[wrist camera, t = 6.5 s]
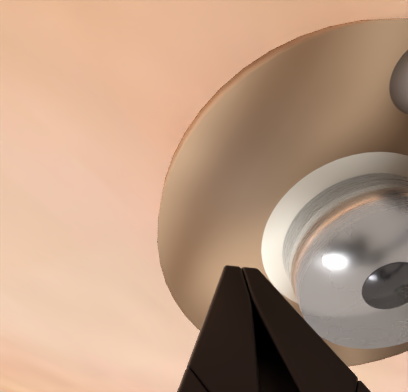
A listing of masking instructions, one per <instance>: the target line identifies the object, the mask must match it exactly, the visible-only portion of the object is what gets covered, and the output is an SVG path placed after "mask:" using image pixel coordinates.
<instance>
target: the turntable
mask: <svg viewBox="0 0 408 392" xmlns="http://www.w3.org/2000/svg"><path fill="white" fill-rule="evenodd" d="M372 173H388V174H396V175H400V176H404V177H407V178H408V19H381V20H361V21H355V22H350V23H345V24H340V25H335V26H330V27H327V28H324V29H321V30H318V31H315V32H312V33H309V34H306V35H303V36H300V37H298V38H296V39H294V40H291V41H289V42H287V43H285V44H283V45H281V46H279V47H277V48H275V49H273V50H271V51H269V52H268V53H266V54H265V55H263V56H262V57H260V58H259V59H257V60H256V61H254V62H253V63H251V64H250V65H248V66H247V67H245V68H244V69H242V70H241V71H240V72H239V73H238V74H237V75H235V76H234V77H233V78H232V79H231V80H230V81H228V82H227V83H226V84H225V85H224V86H223V87H221V88H220V89H219V90H218V92H217V93H216V94H215V95H214V96H213V97H212V98H211V99H210V100H209V101H208V103H207V104H206V105H205V106H204V107H203V108H202V109H201V110H200V112H199V113H198V115H197V116H196V118H195V119H194V121H193V122H192V123H191V125H190V126H189V128H188V129H187V131H186V132H185V134H184V136H183V138H182V140H181V142H180V144H179V146H178V147H177V149H176V151H175V153H174V155H173V158H172V161H171V164H170V167H169V169H168V172H167V175H166V178H165V183H164V188H163V193H162V199H161V204H160V211H159V217H158V240H157V243H158V251H159V258H160V264H161V268H162V271H163V275H164V278H165V281H166V284H167V286H168V288H169V290H170V292H171V294H172V296H173V298H174V300H175V302H176V303H177V305H178V306H179V307H180V309H181V310H182V312H183V313H184V315H185V316H186V317H187V318H188V319H189V320H190V321H191V322H192V323H193V324H194V325H195V326H196V328H197V329H199V330H201V327H202V325H203V322H204V319H205V317H206V314H207V311H208V309H209V306H210V303H211V301H212V298H213V295H214V293H215V290H216V287H217V284H218V282H219V279H220V276H221V274H222V271H223V268H224V266H226V265H230V266H239V267H240V268H242V267H250V268H257V269H259V270H260V271H261V273H262V274H263V275H264V276H265V277H266V278H267V279H268V280H269V281H270V282H271V283H272V285H273V286H274V287H275V288H276V289H277V290H278V291H279V292H280V293H281V294H282V296H283V297H284V298H285V299H286V300H287V301H288V302H289V303H290V304H291V305H292V306H293V308H294V309H295V310H296V311H297V312H298V313H299V314H300V315H301V316H302V317H303V314H302V312H301V310H300V307H299V305H298V302H297V299H296V297H295V294H294V292H293V289H292V287H291V284H290V282H289V279H288V276H287V274H286V271H285V269H284V265H283V259H282V249H283V243H284V239H285V235H286V233H287V230H288V228H289V226H290V224H291V223H292V221H293V219H294V218H295V216H296V215H297V214H298V212H299V211H300V210H301V209H302V208H303V207H304V206H305V205H306V204H307V203H308V202H309V201H310V200H311V199H312V198H314V197H315V196H316V195H317V194H319V193H320V192H322V191H323V190H325V189H326V188H328V187H330V186H332V185H334V184H336V183H338V182H341V181H343V180H346V179H348V178H352V177H355V176H359V175H365V174H372ZM303 318H304V317H303ZM304 320H305V319H304ZM320 337H321V336H320ZM321 338H322V337H321ZM322 339H323V340H324V341H325V343H326V344H327V345H328V346H329V347H330V348H331V349H332V350H333V351H334V352H335V353H336V355H337V356H338V357H339V358H340V359H341V360H342V361H343V362H344V363H345V364H346V365H347V367H348V366H355V365H361V364H365V363H369V362H374V361H378V360H382V359H385V358H388V357H391V356H395V355H398V354H401V353H403V352H406V351H408V342H406V343H403V344H399V345H395V346H390V347H384V348H375V349H357V348H349V347H345V346H340V345H337V344H334V343H332V342H329V341H327V340H326V339H324V338H322Z"/></svg>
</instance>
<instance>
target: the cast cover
mask: <svg viewBox="0 0 408 392" xmlns="http://www.w3.org/2000/svg"><path fill="white" fill-rule="evenodd" d="M282 259H283V265H284V269H285V271H286V274H287V276H288V279H289V282H290V284H291V287H292V289H293V292H294V294H295V297H296V299H297V302H298V305H299V307H300V310H301V312H302V314H303V317H304V319H305V321H306V322H307V323H308V324H309V325H310V326H311V327H312V328H313V329H314V330H315V332H316V333H317V334H318V335H319V336H321V337H322V338H324V339H326V340H327V341H329V342H332V343H334V344H337V345H340V346H345V347H349V348H357V349H375V348H384V347H390V346H395V345H399V344H403V343H406V342H408V178H407V177H404V176H400V175H396V174H388V173H372V174H365V175H359V176H355V177H352V178H348V179H346V180H343V181H341V182H338V183H336V184H334V185H332V186H330V187H328V188H326V189H325V190H323V191H322V192H320V193H319V194H317V195H316V196H315V197H314V198H312V199H311V200H310V201H309V202H308V203H307V204H306V205H305V206H304V207H303V208H302V209H301V210H300V211H299V212H298V214H297V215H296V216H295V218H294V219H293V221H292V223H291V224H290V226H289V228H288V230H287V233H286V235H285V239H284V243H283V249H282Z"/></svg>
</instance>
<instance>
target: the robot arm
mask: <svg viewBox="0 0 408 392" xmlns="http://www.w3.org/2000/svg"><path fill="white" fill-rule="evenodd" d="M177 392H371V391H370V390H369V389H368V388H367V387H366V386H365V385H364V384H363V383H362V382H361V381H358V378H357V376H356V375H355V374H354V373H353V372H352V371H351V370H350V369H349V368H348V367H347V365H346V364H345V363H344V362H343V361H342V360H341V359H340V358H339V357H338V356H337V355H336V353H335V352H334V351H333V350H332V349H331V348H330V347H329V346H328V345H327V344H326V343H325V341H324V340H323V339H322V338H321V337H320V336H319V335H318V334H317V333H316V332H315V330H314V329H313V328H312V327H311V326H310V325H309V324H308V323H307V322H306V321H305V320H304V318H303V317H302V316H301V315H300V314H299V313H298V312H297V311H296V310H295V309H294V308H293V306H292V305H291V304H290V303H289V302H288V301H287V300H286V299H285V298H284V297H283V296H282V294H281V293H280V292H279V291H278V290H277V289H276V288H275V287H274V286H273V285H272V283H271V282H270V281H269V280H268V279H267V278H266V277H265V276H264V275H263V274H262V273H261V271H260V270H259V269H257V268H250V267H242V268H240V267H239V266H230V265H226V266H224V268H223V271H222V274H221V276H220V279H219V282H218V284H217V287H216V290H215V293H214V295H213V298H212V301H211V303H210V306H209V309H208V311H207V314H206V317H205V319H204V322H203V325H202V327H201V330H200V333H199V336H198V338H197V341H196V344H195V346H194V349H193V352H192V354H191V357H190V360H189V362H188V365H187V369H186V370H185V373H184V375H183V378H182V381H181V383H180V386H179V389H178V391H177Z"/></svg>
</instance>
